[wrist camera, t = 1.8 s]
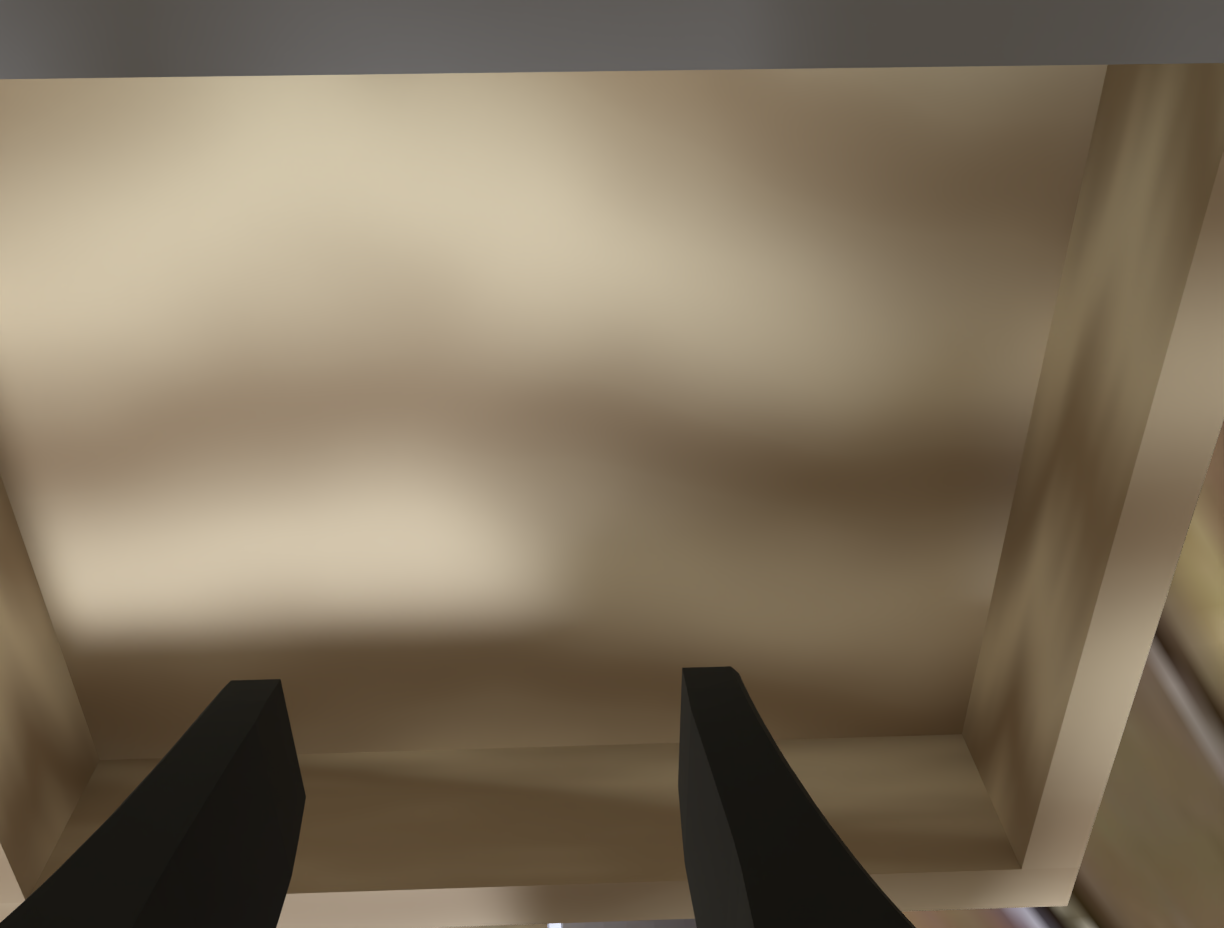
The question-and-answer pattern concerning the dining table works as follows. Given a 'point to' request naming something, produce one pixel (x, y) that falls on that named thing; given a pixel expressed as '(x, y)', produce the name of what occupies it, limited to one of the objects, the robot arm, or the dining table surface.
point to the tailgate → (588, 35)
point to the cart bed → (601, 458)
